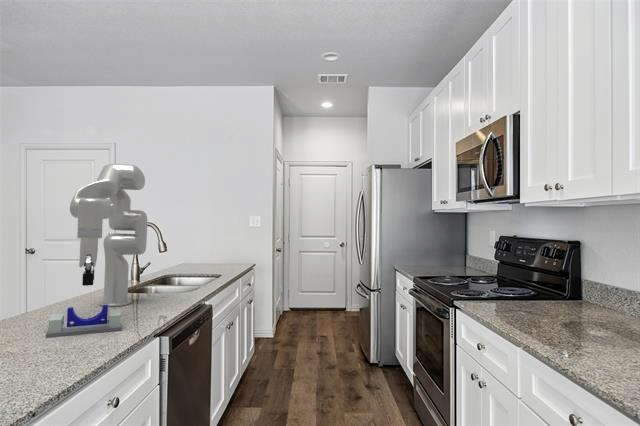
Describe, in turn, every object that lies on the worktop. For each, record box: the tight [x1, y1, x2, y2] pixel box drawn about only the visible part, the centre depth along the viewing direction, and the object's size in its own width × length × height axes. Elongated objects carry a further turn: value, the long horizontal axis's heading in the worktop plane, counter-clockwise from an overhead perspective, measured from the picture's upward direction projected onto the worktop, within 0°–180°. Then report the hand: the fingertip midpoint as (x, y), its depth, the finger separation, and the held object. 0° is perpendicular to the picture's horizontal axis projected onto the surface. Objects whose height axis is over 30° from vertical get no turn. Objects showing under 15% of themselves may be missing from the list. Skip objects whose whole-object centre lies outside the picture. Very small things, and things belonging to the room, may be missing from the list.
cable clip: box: [66, 305, 109, 327], centre depth 139 cm, size 12×4×6 cm, turn 118°
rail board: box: [45, 308, 123, 339], centre depth 139 cm, size 12×22×5 cm, turn 118°
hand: (88, 282), depth 140 cm, fingers open, 9 cm apart
